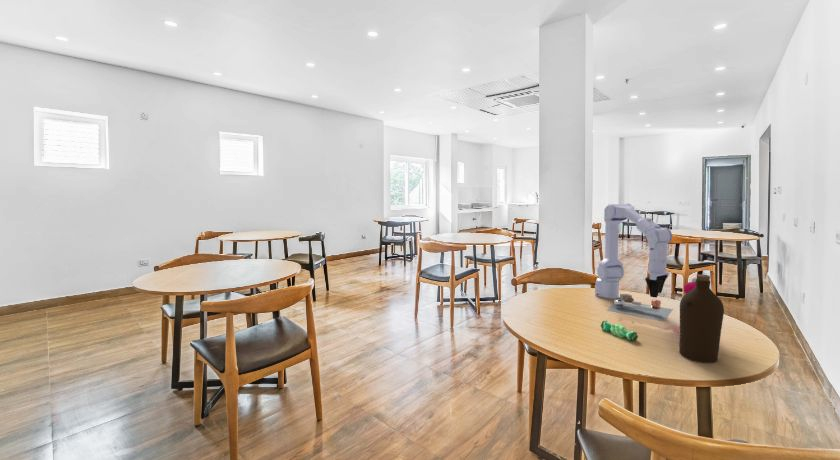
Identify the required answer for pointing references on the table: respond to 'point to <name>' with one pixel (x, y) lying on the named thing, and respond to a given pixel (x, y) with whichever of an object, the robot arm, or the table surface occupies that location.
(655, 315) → the nutcracker base
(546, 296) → the table surface
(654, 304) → the lever
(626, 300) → the walnut
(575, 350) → the table surface
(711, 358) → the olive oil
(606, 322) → the candy
